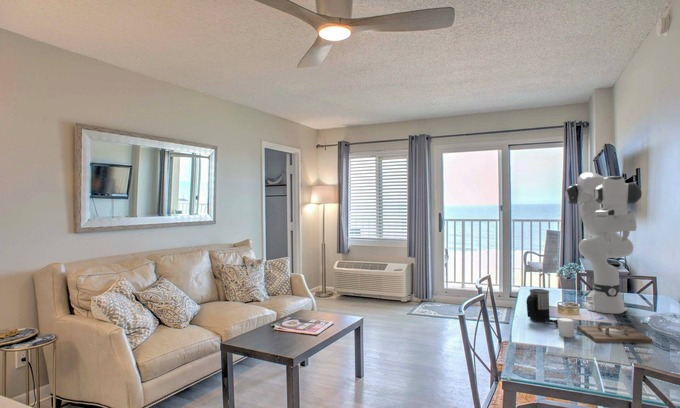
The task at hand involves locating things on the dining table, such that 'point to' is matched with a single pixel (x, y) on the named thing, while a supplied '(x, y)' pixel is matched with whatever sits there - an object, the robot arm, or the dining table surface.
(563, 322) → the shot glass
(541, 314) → the milk frother
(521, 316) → the dining table surface
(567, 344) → the dining table surface
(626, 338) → the pin board
